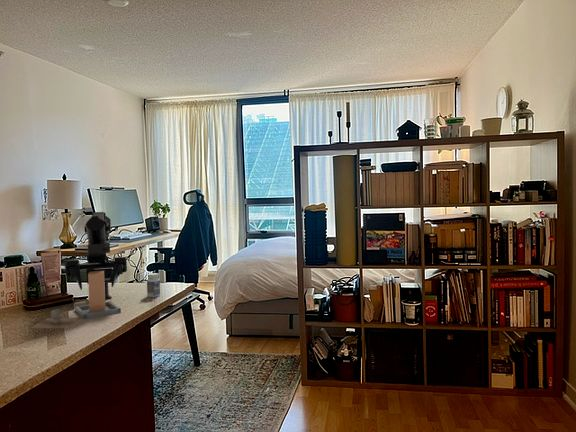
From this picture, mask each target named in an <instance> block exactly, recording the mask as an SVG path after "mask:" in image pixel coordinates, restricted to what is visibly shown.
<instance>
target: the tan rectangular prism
mask: <svg viewBox="0 0 576 432" xmlns="http://www.w3.org/2000/svg"><path fill="white" fill-rule="evenodd" d="M88 283H89V284H88V302H89V304H88V305H89V308H90V313H94V312H100V311H105V310H106V307H105V302H106V299H105V280H104V271H94V272H89V273H88Z"/></svg>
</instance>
